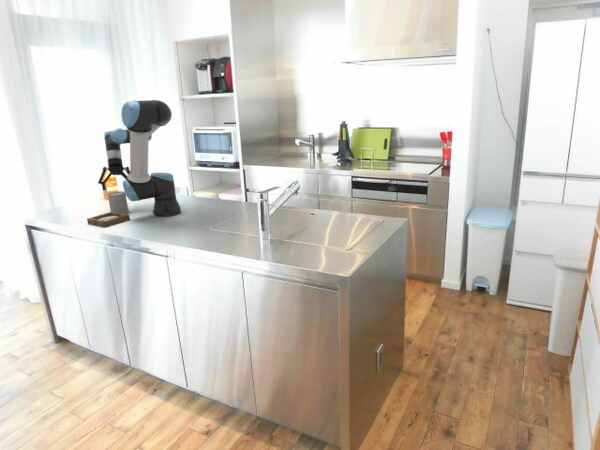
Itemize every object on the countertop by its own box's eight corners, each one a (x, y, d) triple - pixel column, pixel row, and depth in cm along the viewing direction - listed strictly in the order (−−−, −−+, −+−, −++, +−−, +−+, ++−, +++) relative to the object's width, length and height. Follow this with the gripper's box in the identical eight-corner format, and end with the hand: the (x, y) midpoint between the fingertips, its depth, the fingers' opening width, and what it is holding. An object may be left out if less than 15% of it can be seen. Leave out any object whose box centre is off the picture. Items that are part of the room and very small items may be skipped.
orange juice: (115, 196, 285) (110, 167, 279) (119, 198, 279) (114, 168, 273) (103, 198, 280) (98, 168, 274) (107, 200, 274) (102, 170, 268)
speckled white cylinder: (132, 211, 243) (128, 191, 240) (123, 216, 234) (120, 195, 230) (116, 212, 244) (112, 191, 241) (107, 216, 235) (103, 195, 231)
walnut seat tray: (130, 220, 226) (129, 214, 225) (104, 227, 214) (103, 222, 213) (113, 216, 234) (112, 211, 233) (88, 224, 222) (86, 218, 221)
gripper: (134, 160, 249) (139, 195, 248) (89, 160, 233) (94, 197, 232) (138, 157, 243) (143, 193, 242) (92, 157, 227) (97, 195, 226)
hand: (119, 195), depth 237 cm, fingers open, 13 cm apart
